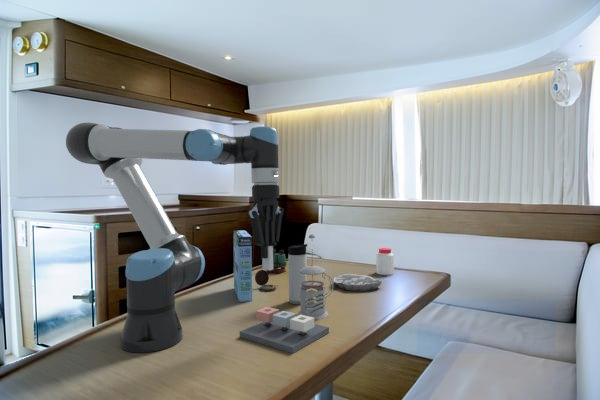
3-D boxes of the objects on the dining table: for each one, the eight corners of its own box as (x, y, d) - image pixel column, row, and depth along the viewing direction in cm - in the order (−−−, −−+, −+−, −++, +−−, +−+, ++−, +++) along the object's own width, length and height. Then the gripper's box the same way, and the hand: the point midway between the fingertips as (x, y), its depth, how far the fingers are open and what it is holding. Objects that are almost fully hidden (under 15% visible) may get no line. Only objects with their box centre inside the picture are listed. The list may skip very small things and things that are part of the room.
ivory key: (304, 338, 99) (304, 322, 98) (290, 334, 101) (290, 319, 101) (314, 332, 102) (314, 317, 102) (300, 329, 105) (300, 314, 105)
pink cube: (268, 328, 106) (268, 313, 106) (256, 325, 108) (256, 310, 108) (279, 323, 109) (279, 309, 109) (267, 320, 112) (267, 306, 112)
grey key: (285, 333, 102) (285, 317, 102) (272, 329, 105) (272, 314, 105) (296, 328, 106) (296, 313, 106) (283, 324, 108) (283, 310, 108)
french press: (292, 311, 125) (291, 233, 124) (326, 307, 129) (325, 231, 128) (304, 321, 116) (302, 237, 115) (339, 316, 120) (338, 234, 119)
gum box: (233, 288, 155) (232, 230, 154) (246, 287, 156) (245, 230, 155) (238, 302, 136) (237, 236, 135) (253, 301, 137) (252, 236, 136)
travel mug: (306, 305, 131) (305, 245, 131) (287, 304, 133) (286, 245, 132) (309, 299, 138) (308, 243, 137) (291, 298, 139) (290, 242, 138)
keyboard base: (292, 353, 94) (292, 347, 94) (239, 336, 104) (239, 331, 104) (329, 332, 106) (328, 327, 106) (278, 319, 117) (278, 314, 117)
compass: (266, 292, 148) (265, 273, 147) (254, 288, 154) (254, 270, 153) (282, 289, 153) (282, 270, 152) (271, 285, 159) (270, 267, 158)
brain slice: (322, 286, 156) (322, 279, 156) (350, 279, 168) (350, 272, 168) (360, 296, 142) (360, 288, 142) (388, 287, 153) (388, 280, 153)
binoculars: (260, 252, 179) (272, 247, 188) (262, 274, 181) (274, 268, 189) (275, 254, 175) (288, 248, 183) (277, 277, 176) (289, 270, 184)
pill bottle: (373, 272, 180) (373, 248, 179) (388, 270, 182) (388, 247, 181) (381, 275, 172) (381, 250, 172) (397, 274, 175) (397, 249, 174)
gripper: (259, 184, 100) (262, 275, 101) (290, 183, 110) (293, 266, 111) (238, 184, 105) (241, 272, 105) (270, 184, 115) (273, 264, 116)
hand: (267, 269), depth 108 cm, fingers closed
